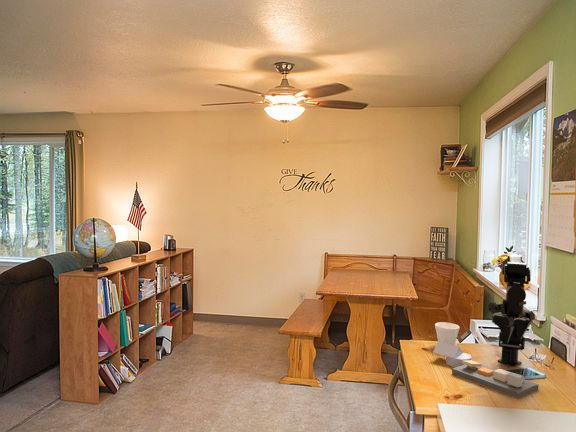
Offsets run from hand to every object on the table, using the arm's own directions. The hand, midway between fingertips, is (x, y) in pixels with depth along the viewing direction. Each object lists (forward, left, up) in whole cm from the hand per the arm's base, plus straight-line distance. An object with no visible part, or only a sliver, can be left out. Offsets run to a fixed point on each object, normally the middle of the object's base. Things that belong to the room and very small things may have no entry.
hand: (512, 341), depth 163 cm
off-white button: (+10, +2, -11) cm, 15 cm away
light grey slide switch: (+12, +7, -11) cm, 17 cm away
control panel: (+10, -1, -13) cm, 16 cm away
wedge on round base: (+5, -20, -13) cm, 25 cm away
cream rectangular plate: (+10, -10, -9) cm, 16 cm away
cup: (-9, -33, -13) cm, 37 cm away
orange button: (+10, -4, -12) cm, 16 cm away
